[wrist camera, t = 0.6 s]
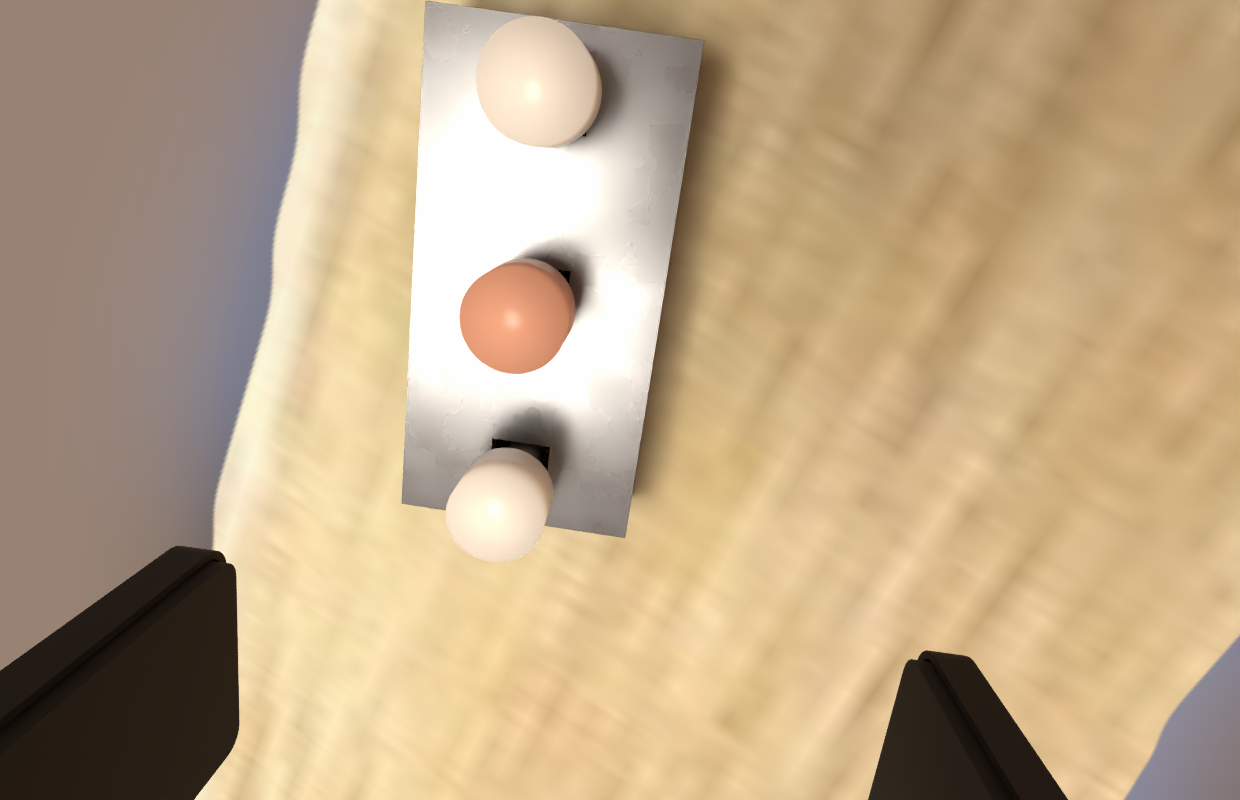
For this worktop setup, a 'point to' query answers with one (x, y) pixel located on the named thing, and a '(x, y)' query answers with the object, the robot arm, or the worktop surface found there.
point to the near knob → (538, 83)
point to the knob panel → (555, 234)
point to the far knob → (501, 503)
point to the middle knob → (517, 315)
